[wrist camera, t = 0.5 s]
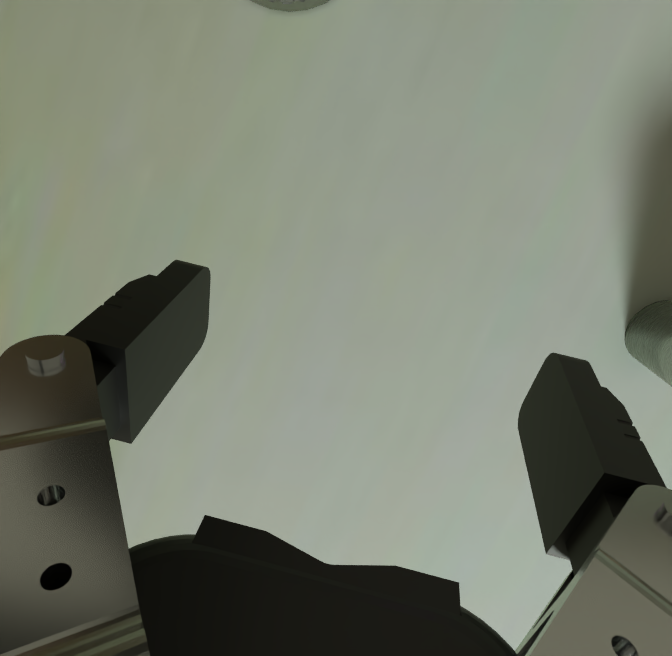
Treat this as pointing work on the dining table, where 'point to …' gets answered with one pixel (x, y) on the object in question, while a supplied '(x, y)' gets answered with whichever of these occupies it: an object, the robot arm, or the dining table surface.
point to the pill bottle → (652, 339)
